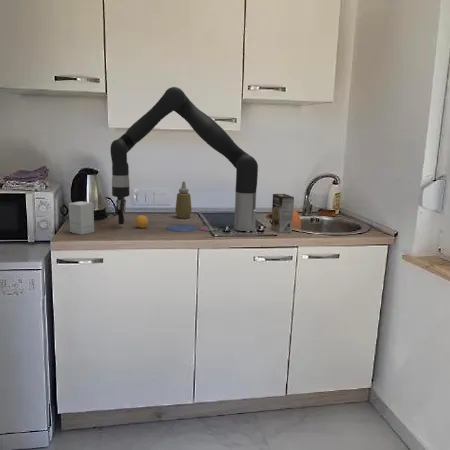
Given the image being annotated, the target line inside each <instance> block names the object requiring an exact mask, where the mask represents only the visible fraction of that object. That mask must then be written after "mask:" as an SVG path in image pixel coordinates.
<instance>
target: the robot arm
mask: <svg viewBox="0 0 450 450" xmlns="http://www.w3.org/2000/svg"><path fill="white" fill-rule="evenodd" d="M173 112H175V113H176V114H178V115H179V116H180V117H181V118H182V119H184V120H185V121H186V123H188V124H189V126H190V128H192V129H193V131H194V132H195V133H196V134H197V136H199V137H200V139H202V140H203V141H204V142H205V143H206V144H207V145H208V146H209V147H210V148H212V149H213V150H215V151H216V152H218V153H219V154H221V155H222V156H223V157H224V158H226V159H227V161H229V162H230V163H231V164H232V166H233V167H234V168H235V170H236V173H235V174H236V175H235V176H236V177H235V194H234V195H235V197H234V199H235V200H234V223H233V226H234V227H233V229H236V230H239V231H252V232H256V225H257V209H256V205H257V188H258V172H259V166H258V165H259V164H258V162H257V159H255V157H253V156H252V155H250V154H249V153H247V152H246V151H245V150H243V149H242V148H241V147H240V146H239V145H237V143H236V142H235V141H234V140H233V139H232V137H230V135H229V134H228V133H227V132H226V131H225V130H224V128H222V127H221V126H220V125H219V124H218V122H216V121H215V120H214V119H212V118H211V117H210V116H209V115H207V114H206V113H205V112H203V111H201V110H200V109H199V108H198V107H197V106H196V104H194V102H193V101H191V100H190V99H189V97H188V96H187V95H186V94H185V92H184V91H183V89H181V88H179V87H176V86H171V87H168V88H167V89H166V90H165V92H164V93H163V94H162V96H161V97H160V98H159V100H158V101H157V102H156V103H155V104H154V105H153V106H152V107H151V108H150V109H148V111H147V112H146V113H145V114H143V115H142V116H141V117H140V118H138V120H136V121H135V122H134V123H133V124H132V125H130V127H128V128H127V130H126V132H125V133H123V134H122V135H121V136H120V137H119V138H117V139H114V140H113V141H112V142H111V144H110V157H111V163H112V165H111V170H112V171H111V173H112V175H111V196H113V197H115V198H117V199H116V200H115V210H116V216H117V217H118V225H124V224H125V214H126V205H127V199H126V198H125V197H130V194H131V193H130V173H129V172H130V171H129V163H128V153H129V152H130V151H131V150H132V149H133V148H134V146H136V144H138V143H139V142H140V141H142V140H143V139H144V138H145V137H146V136H147V135H148V134H149V133H151V131H153V129H155V127H156V126H157V125H158V124H159V123H160V122H161V121H162V120H163V119H164V118H165V117H167V116H168V115H169V114H171V113H173ZM236 230H235V231H236ZM239 231H238V232H239Z"/></svg>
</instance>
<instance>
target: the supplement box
mask: <svg viewBox="0 0 450 450" xmlns="http://www.w3.org/2000/svg"><path fill="white" fill-rule="evenodd" d="M94 212H95V211H94V202H90V201H89V202H88V201H82V200H81V201H74V202H70V203H68V215H69V216H68V219H69V233H71V232H72V233H71V234H75V235H76V234H77V235H86V234H90V233H94V232H95V217H94V215H95V213H94Z"/></svg>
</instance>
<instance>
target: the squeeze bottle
mask: <svg viewBox="0 0 450 450" xmlns="http://www.w3.org/2000/svg"><path fill="white" fill-rule="evenodd" d="M191 198H192V197H191V194H190V193H189V188H187V186H186V181H182V182H181V187H180V188H179V189H178V193H177V195H176V202H175V213H176V217H177V218H178V219H189V218H190V216H191V213H192V199H191Z"/></svg>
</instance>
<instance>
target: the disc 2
mask: <svg viewBox="0 0 450 450" xmlns="http://www.w3.org/2000/svg"><path fill="white" fill-rule="evenodd" d="M207 226H208V225H201V226H198V229H197V230H198V231H202V232H211V231H210V230H209V229H208V227H207Z"/></svg>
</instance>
